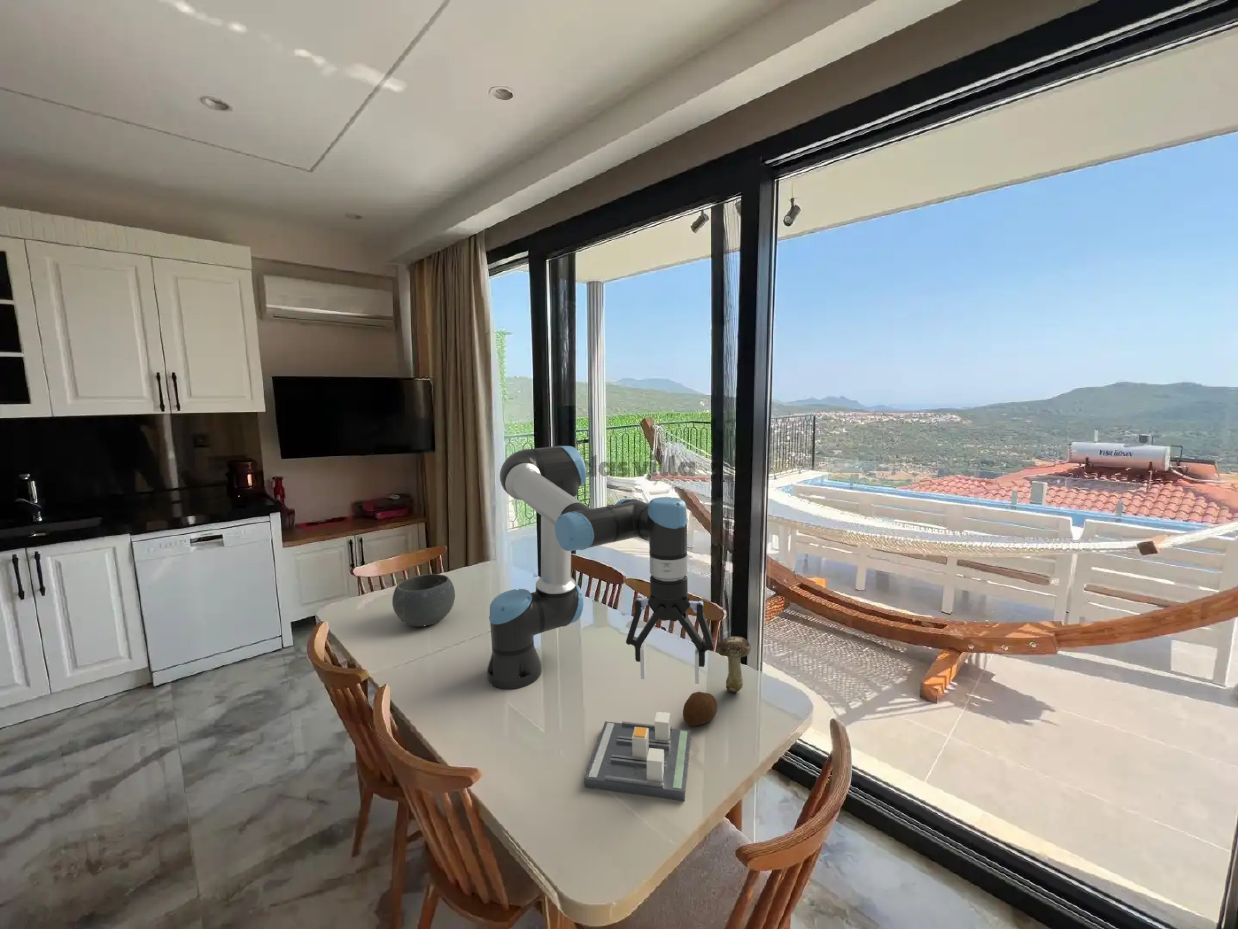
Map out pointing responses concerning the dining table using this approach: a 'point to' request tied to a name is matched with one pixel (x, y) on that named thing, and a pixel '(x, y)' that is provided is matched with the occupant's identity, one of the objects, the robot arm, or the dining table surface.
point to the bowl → (423, 599)
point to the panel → (638, 762)
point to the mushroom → (734, 660)
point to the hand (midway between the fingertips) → (670, 677)
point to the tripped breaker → (640, 742)
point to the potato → (699, 708)
